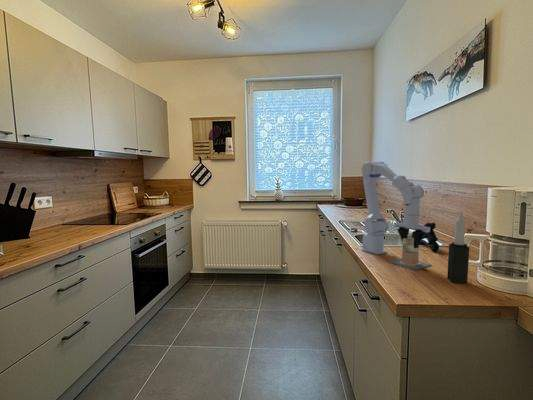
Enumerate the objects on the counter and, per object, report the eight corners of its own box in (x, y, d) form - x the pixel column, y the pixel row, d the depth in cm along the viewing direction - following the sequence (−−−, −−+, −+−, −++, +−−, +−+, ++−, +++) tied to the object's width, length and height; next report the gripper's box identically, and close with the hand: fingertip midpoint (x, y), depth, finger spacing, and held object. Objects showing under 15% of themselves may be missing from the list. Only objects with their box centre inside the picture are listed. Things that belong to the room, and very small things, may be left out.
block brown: (401, 262, 120) (402, 250, 120) (407, 260, 123) (408, 249, 122) (412, 265, 117) (412, 253, 116) (418, 263, 119) (418, 251, 118)
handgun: (423, 259, 155) (418, 233, 161) (443, 250, 134) (437, 220, 140) (414, 259, 156) (410, 232, 161) (433, 250, 135) (427, 220, 141)
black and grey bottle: (468, 284, 98) (472, 212, 95) (452, 283, 99) (456, 212, 96) (461, 278, 103) (465, 210, 100) (446, 277, 104) (449, 210, 101)
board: (389, 262, 122) (389, 261, 122) (404, 258, 128) (404, 257, 127) (416, 270, 112) (416, 269, 112) (431, 265, 117) (431, 264, 117)
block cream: (402, 250, 120) (402, 238, 119) (408, 248, 122) (408, 237, 122) (412, 252, 116) (413, 240, 116) (418, 251, 118) (419, 239, 118)
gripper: (434, 215, 114) (433, 248, 115) (401, 211, 126) (400, 241, 127) (425, 217, 110) (423, 251, 111) (391, 213, 122) (390, 243, 123)
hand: (410, 246), depth 119 cm, fingers closed on block cream, 4 cm apart
